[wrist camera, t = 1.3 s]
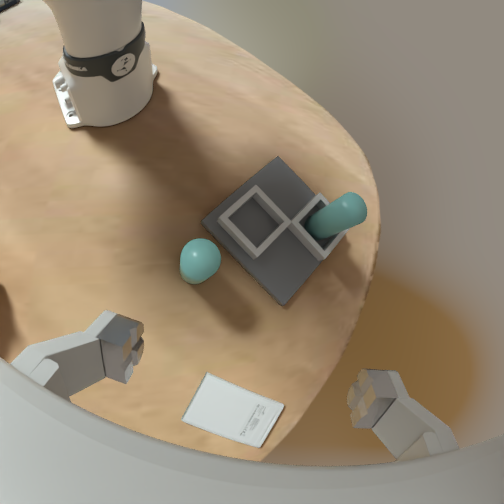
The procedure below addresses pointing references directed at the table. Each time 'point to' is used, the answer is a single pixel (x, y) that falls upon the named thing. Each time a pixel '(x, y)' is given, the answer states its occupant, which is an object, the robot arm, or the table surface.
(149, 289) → the table surface
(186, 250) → the jaw peg
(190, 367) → the table surface
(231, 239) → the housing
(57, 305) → the table surface
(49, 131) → the table surface
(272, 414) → the external hard drive
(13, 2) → the vhs cassette tape
